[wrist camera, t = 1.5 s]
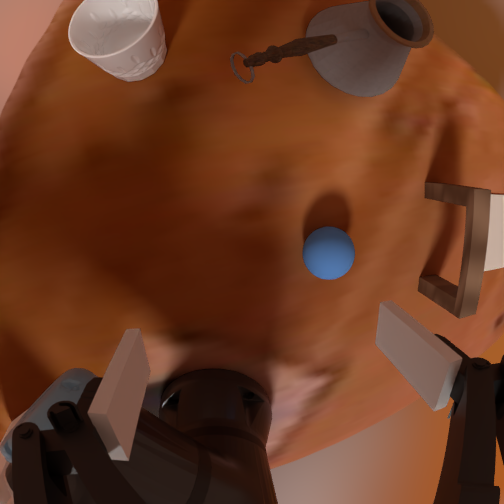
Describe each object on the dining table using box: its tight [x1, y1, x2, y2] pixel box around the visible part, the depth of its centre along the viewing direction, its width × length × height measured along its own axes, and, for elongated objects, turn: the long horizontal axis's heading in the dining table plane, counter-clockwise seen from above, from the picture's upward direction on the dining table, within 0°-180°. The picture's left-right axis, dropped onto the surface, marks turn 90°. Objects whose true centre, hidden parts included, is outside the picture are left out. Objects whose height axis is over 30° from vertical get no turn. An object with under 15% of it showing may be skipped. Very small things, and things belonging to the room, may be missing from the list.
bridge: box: [418, 182, 491, 319], centre depth 32 cm, size 14×3×9 cm, turn 3°
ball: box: [303, 227, 355, 279], centre depth 32 cm, size 6×6×6 cm
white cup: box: [68, 0, 167, 82], centre depth 22 cm, size 8×8×10 cm
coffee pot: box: [230, 0, 434, 97], centre depth 23 cm, size 21×12×15 cm, turn 120°
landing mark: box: [484, 194, 504, 271], centre depth 38 cm, size 12×12×1 cm
